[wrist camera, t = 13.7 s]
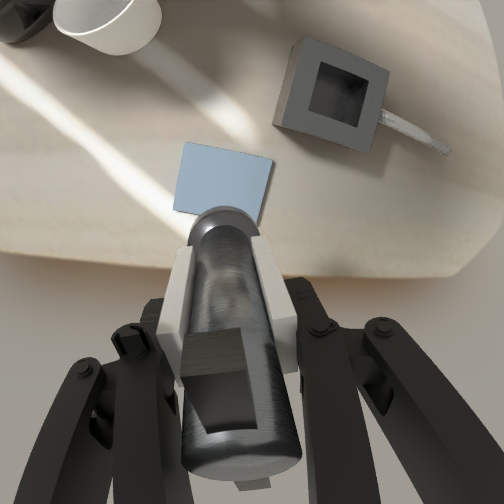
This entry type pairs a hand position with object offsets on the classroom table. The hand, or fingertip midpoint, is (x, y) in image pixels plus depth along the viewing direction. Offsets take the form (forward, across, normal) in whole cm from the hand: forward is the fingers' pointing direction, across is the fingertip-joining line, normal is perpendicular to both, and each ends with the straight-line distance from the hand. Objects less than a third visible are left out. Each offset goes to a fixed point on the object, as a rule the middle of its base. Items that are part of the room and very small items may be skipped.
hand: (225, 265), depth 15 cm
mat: (+20, 0, 0) cm, 20 cm away
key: (+4, 0, 0) cm, 4 cm away
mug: (+20, -10, +23) cm, 32 cm away
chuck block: (+20, +19, +7) cm, 28 cm away
